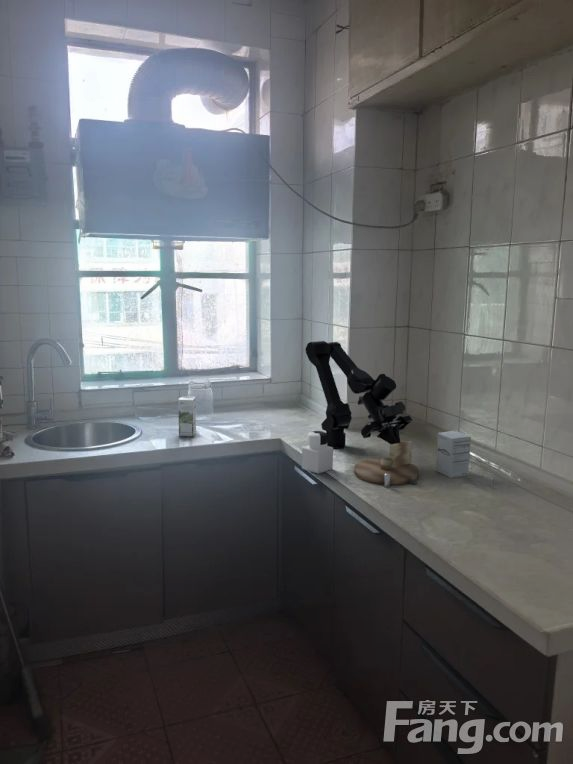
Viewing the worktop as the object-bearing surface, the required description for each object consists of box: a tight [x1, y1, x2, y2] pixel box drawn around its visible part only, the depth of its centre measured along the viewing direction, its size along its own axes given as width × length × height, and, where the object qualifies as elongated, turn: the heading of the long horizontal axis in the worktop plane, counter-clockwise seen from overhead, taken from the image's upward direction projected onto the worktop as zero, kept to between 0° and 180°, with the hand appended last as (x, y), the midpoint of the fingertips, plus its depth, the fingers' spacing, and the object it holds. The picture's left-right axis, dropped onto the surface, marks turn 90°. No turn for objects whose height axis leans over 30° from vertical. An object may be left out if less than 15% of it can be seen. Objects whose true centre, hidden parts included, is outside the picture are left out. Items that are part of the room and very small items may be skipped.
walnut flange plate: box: [353, 440, 421, 486], centre depth 187 cm, size 20×22×9 cm
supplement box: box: [435, 430, 472, 479], centre depth 189 cm, size 7×7×13 cm
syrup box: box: [177, 396, 197, 438], centre depth 229 cm, size 6×6×14 cm
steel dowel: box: [383, 473, 391, 489], centre depth 177 cm, size 2×2×4 cm
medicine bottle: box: [301, 430, 334, 475], centre depth 192 cm, size 7×7×12 cm
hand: (399, 448), depth 192 cm, fingers closed
